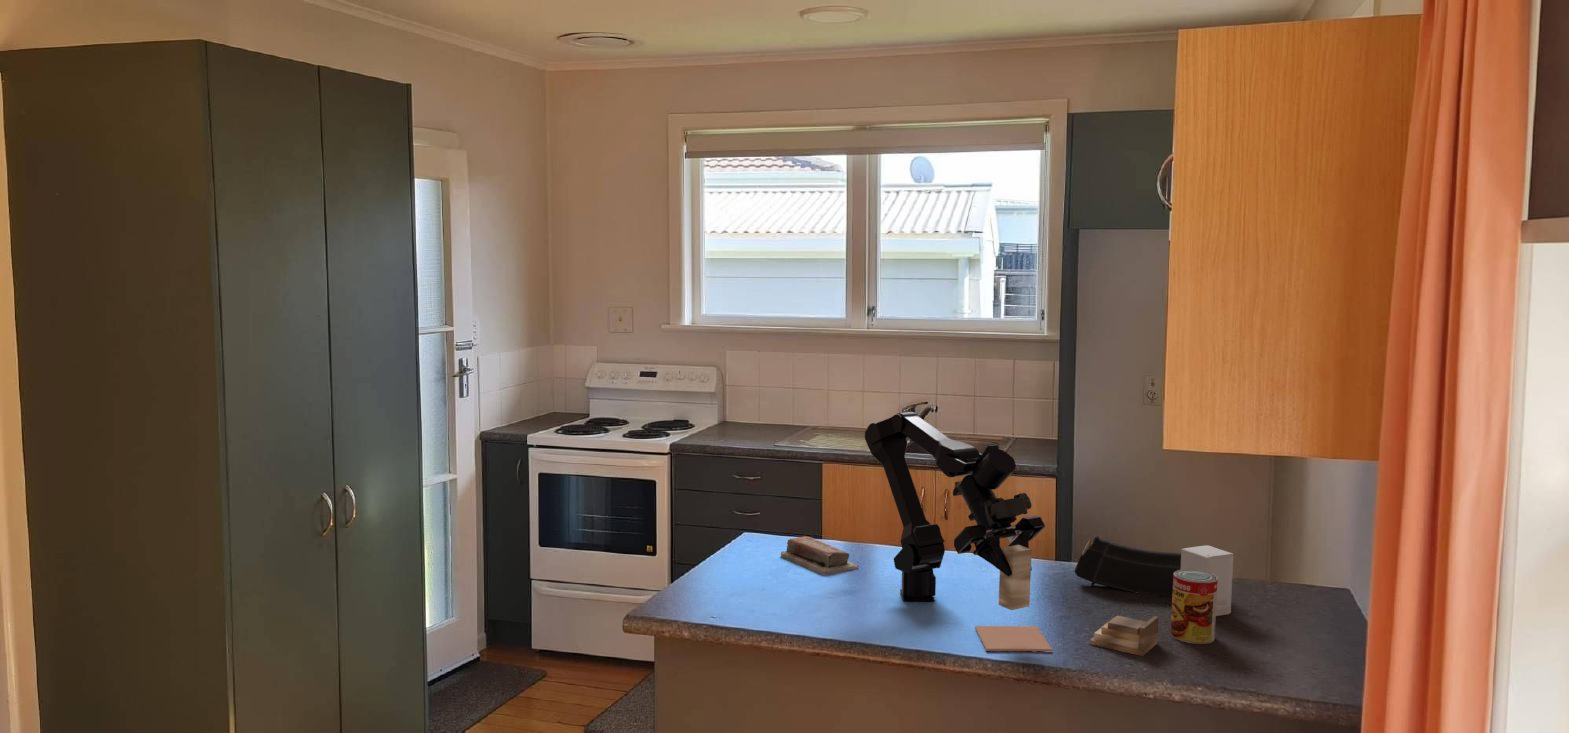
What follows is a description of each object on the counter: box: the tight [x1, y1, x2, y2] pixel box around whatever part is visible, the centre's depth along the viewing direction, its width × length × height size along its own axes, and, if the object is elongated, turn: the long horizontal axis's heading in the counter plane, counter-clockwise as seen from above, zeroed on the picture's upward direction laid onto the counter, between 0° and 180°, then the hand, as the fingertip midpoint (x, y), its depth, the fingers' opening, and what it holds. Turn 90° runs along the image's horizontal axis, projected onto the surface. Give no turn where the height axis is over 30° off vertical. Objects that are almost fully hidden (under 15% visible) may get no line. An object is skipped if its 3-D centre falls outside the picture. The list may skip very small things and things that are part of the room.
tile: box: [974, 625, 1053, 652], centre depth 207 cm, size 12×12×1 cm
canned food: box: [1170, 569, 1218, 645], centre depth 209 cm, size 8×8×12 cm
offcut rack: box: [1089, 615, 1159, 657], centre depth 206 cm, size 10×8×5 cm
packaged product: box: [780, 535, 859, 576], centre depth 256 cm, size 18×5×10 cm
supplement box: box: [1180, 544, 1234, 617], centre depth 224 cm, size 7×7×13 cm
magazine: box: [1074, 535, 1181, 598], centre depth 236 cm, size 17×3×30 cm
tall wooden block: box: [998, 545, 1033, 611], centre depth 206 cm, size 4×4×11 cm
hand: (1020, 573), depth 205 cm, fingers closed on tall wooden block, 4 cm apart
